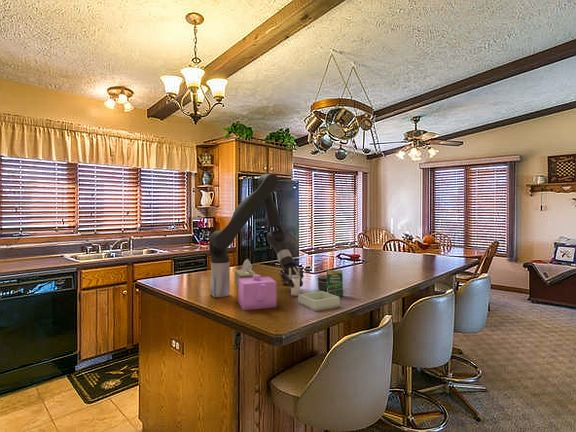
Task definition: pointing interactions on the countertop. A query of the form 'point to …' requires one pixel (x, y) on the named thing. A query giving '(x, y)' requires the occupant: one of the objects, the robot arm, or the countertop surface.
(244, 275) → the tissue box
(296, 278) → the salt shaker
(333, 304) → the bin
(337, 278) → the coffee box
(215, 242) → the robot arm
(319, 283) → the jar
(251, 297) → the pink storage box
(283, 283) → the tin
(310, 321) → the countertop surface
